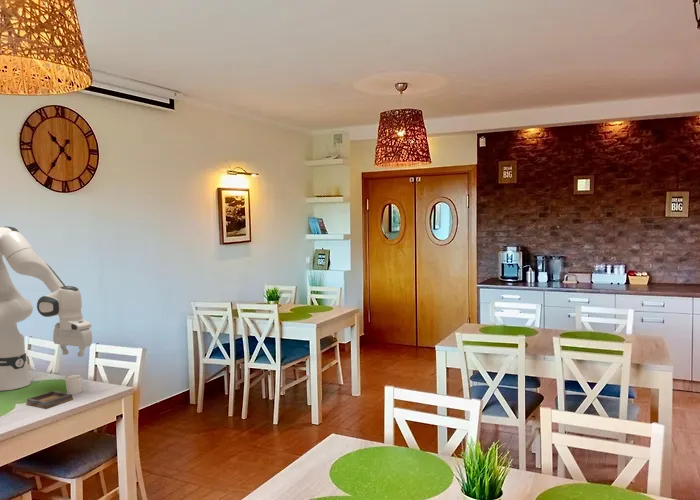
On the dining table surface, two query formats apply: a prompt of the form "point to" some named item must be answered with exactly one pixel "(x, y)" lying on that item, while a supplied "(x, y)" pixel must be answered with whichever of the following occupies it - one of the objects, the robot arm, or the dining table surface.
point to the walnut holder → (49, 399)
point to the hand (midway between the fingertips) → (73, 355)
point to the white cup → (74, 383)
